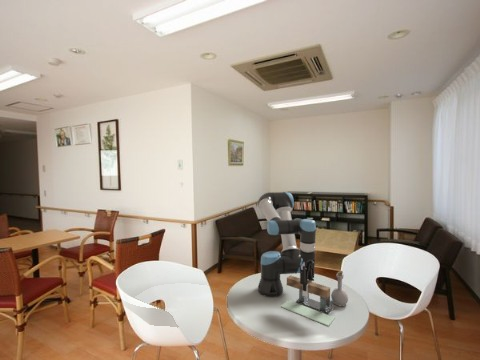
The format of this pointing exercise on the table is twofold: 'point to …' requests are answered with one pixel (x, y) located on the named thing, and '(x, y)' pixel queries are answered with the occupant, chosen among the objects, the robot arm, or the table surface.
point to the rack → (315, 303)
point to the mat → (308, 312)
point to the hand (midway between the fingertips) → (307, 294)
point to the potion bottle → (339, 292)
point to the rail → (309, 287)
